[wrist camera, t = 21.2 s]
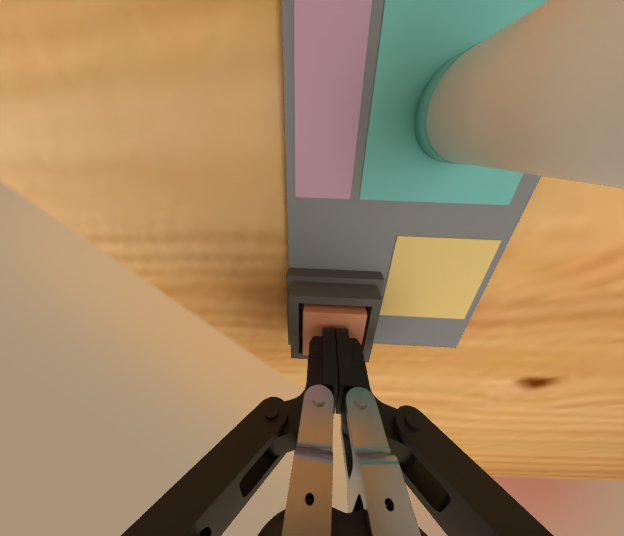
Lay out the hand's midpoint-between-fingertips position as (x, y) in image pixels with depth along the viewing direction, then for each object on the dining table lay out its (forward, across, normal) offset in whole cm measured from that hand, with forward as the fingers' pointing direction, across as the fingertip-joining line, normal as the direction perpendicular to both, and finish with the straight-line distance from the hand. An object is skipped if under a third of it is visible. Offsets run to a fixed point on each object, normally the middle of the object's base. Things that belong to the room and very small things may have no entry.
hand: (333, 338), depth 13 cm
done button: (+2, 0, 0) cm, 2 cm away
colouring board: (+4, -4, -7) cm, 8 cm away
